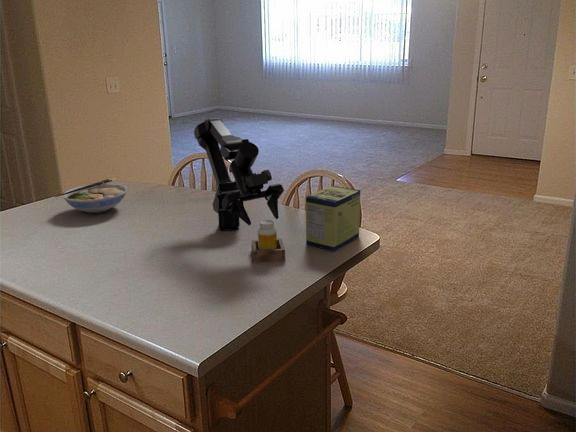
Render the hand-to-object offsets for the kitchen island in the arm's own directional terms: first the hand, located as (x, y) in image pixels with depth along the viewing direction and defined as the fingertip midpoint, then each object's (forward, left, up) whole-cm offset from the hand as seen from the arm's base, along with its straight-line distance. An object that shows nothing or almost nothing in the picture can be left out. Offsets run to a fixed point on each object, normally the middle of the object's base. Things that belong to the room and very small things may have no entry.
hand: (264, 221), depth 152 cm
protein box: (+22, +7, -10) cm, 25 cm away
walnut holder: (+1, -2, -10) cm, 10 cm away
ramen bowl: (-58, +51, -10) cm, 78 cm away
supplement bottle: (+1, -1, -9) cm, 9 cm away
